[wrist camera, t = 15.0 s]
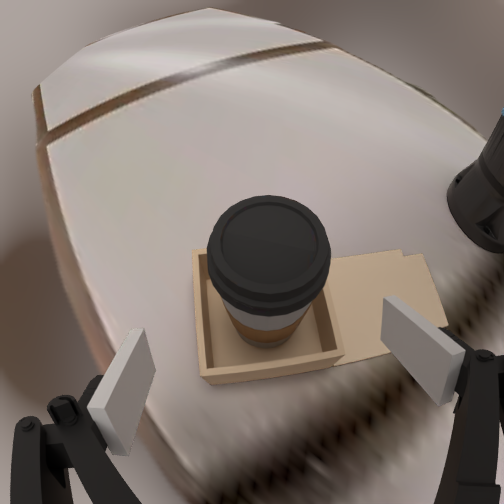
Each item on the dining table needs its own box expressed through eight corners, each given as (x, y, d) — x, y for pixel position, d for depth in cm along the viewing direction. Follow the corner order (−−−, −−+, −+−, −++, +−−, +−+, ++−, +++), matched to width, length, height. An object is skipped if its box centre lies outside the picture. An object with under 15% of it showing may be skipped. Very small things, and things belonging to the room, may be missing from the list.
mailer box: (417, 248, 37) (436, 221, 32) (448, 335, 30) (476, 317, 25) (201, 277, 35) (191, 250, 30) (210, 385, 29) (200, 376, 24)
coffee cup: (295, 367, 29) (325, 318, 16) (214, 346, 30) (181, 282, 18) (312, 294, 33) (343, 204, 20) (238, 276, 35) (226, 180, 22)
